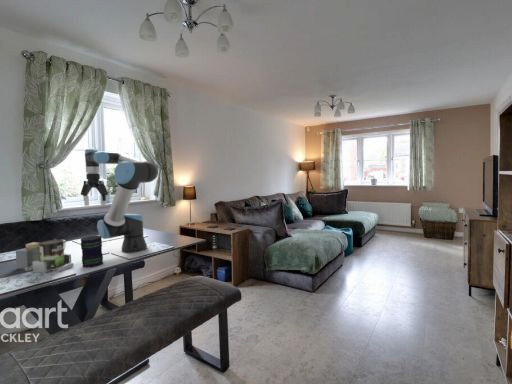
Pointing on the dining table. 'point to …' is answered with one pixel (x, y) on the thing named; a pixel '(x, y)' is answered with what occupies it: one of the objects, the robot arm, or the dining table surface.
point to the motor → (36, 259)
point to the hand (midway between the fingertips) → (95, 205)
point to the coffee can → (52, 253)
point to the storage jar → (91, 251)
